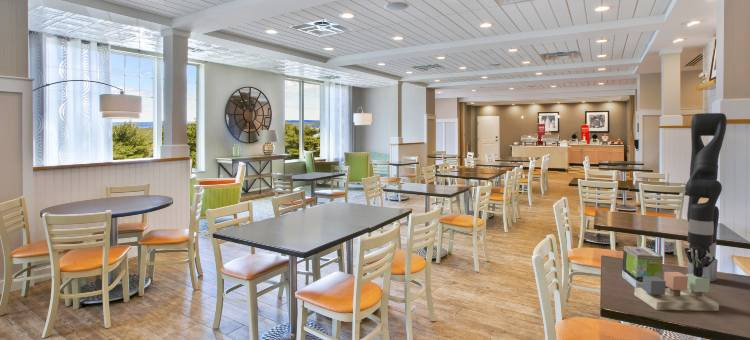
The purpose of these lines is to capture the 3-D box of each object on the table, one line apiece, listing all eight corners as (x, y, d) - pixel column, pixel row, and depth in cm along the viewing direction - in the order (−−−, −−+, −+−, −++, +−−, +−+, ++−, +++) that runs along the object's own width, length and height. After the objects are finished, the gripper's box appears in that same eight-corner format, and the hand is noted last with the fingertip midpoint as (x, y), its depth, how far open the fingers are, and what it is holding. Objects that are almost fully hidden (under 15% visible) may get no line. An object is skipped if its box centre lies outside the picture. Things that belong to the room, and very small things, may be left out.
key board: (690, 295, 163) (692, 278, 163) (718, 310, 150) (719, 292, 149) (634, 294, 165) (635, 278, 164) (656, 309, 151) (657, 291, 150)
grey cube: (656, 289, 160) (656, 276, 159) (664, 294, 154) (665, 281, 154) (642, 289, 160) (643, 276, 159) (650, 294, 155) (651, 281, 154)
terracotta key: (677, 284, 159) (678, 271, 158) (687, 289, 154) (687, 276, 153) (663, 284, 159) (664, 271, 159) (672, 289, 154) (673, 276, 154)
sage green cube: (698, 286, 159) (699, 273, 158) (709, 292, 153) (709, 278, 153) (684, 286, 159) (685, 273, 158) (694, 291, 154) (695, 278, 153)
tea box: (662, 290, 169) (664, 256, 167) (635, 289, 171) (636, 254, 169) (645, 278, 183) (647, 246, 182) (621, 276, 185) (622, 245, 184)
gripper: (724, 236, 147) (721, 282, 149) (697, 227, 161) (695, 270, 162) (703, 235, 148) (700, 282, 149) (678, 227, 161) (675, 270, 162)
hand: (697, 276), depth 156 cm, fingers closed
